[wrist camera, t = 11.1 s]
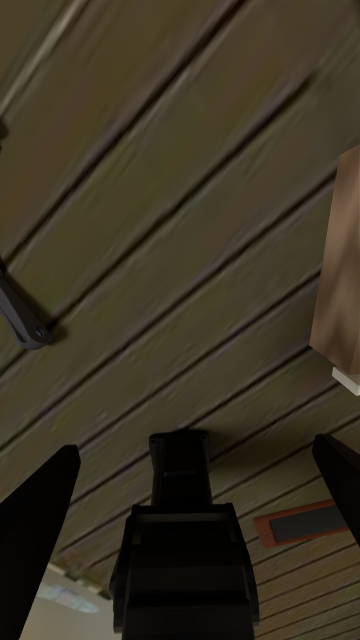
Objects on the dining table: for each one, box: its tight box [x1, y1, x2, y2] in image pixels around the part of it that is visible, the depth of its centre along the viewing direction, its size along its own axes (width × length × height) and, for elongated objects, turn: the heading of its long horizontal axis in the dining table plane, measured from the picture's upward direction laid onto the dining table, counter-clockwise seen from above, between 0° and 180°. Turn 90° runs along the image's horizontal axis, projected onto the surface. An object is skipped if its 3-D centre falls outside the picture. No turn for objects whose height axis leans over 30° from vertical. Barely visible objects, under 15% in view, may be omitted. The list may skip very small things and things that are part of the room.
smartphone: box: [253, 499, 350, 548], centre depth 29 cm, size 7×1×15 cm
